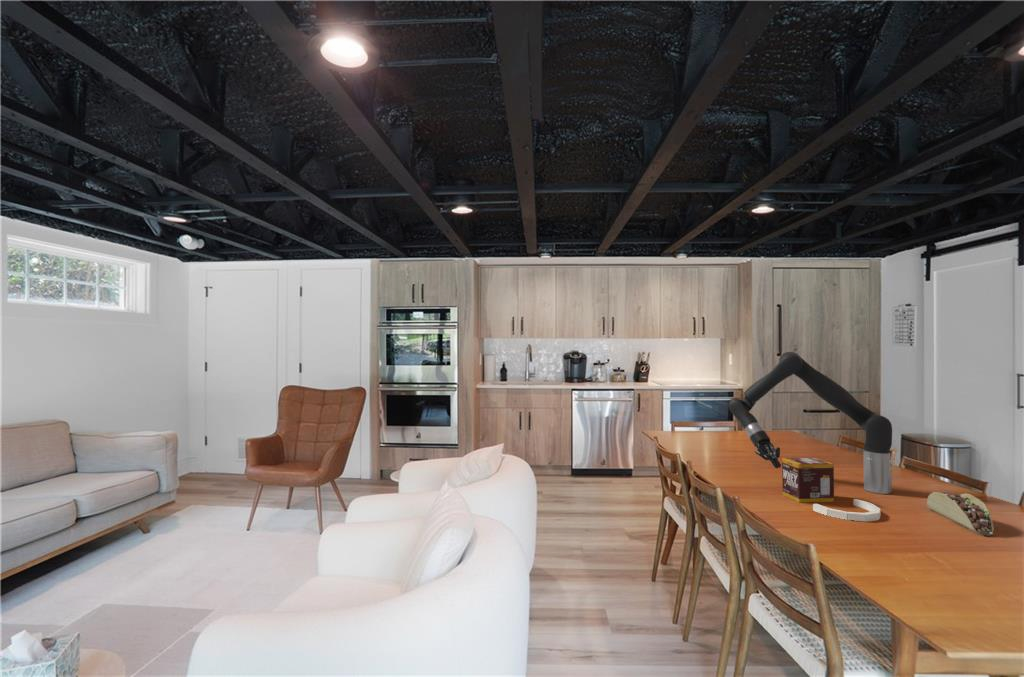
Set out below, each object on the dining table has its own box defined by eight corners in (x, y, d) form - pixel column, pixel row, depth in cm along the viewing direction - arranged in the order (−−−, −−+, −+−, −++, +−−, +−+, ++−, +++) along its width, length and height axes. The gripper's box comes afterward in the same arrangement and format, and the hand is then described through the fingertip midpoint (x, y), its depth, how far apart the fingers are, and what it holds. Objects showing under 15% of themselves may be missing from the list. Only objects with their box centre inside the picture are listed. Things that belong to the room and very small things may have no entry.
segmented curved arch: (856, 505, 185) (856, 498, 185) (895, 517, 172) (895, 510, 172) (813, 510, 179) (812, 504, 179) (849, 524, 165) (849, 517, 165)
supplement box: (781, 494, 198) (781, 457, 198) (815, 494, 199) (815, 457, 200) (798, 502, 188) (798, 464, 188) (834, 502, 189) (834, 463, 189)
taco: (948, 510, 180) (947, 484, 180) (1005, 538, 154) (1004, 507, 154) (919, 509, 182) (918, 482, 182) (970, 536, 156) (969, 505, 156)
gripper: (750, 430, 215) (771, 463, 203) (773, 429, 218) (795, 462, 206) (741, 439, 220) (762, 472, 208) (763, 438, 223) (785, 471, 211)
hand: (778, 467), depth 207 cm, fingers closed
